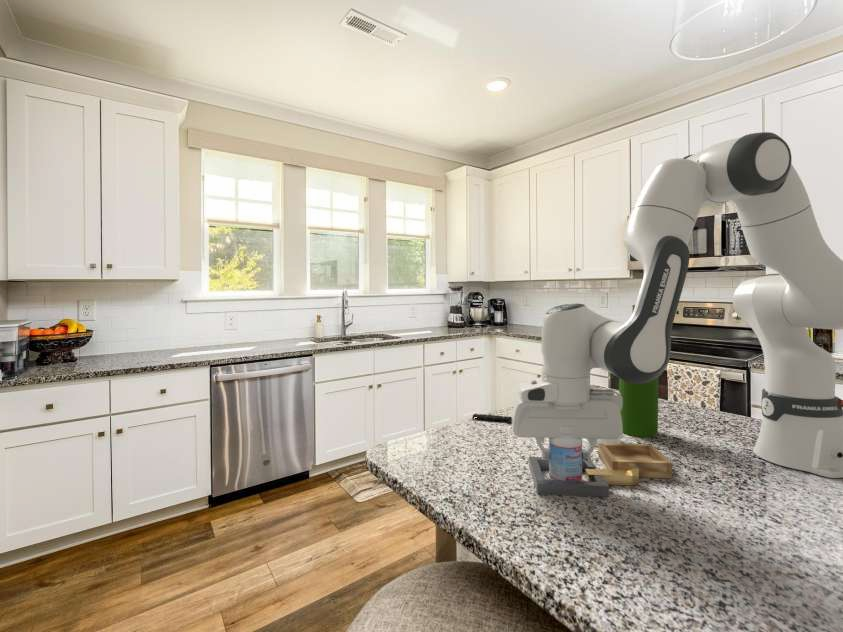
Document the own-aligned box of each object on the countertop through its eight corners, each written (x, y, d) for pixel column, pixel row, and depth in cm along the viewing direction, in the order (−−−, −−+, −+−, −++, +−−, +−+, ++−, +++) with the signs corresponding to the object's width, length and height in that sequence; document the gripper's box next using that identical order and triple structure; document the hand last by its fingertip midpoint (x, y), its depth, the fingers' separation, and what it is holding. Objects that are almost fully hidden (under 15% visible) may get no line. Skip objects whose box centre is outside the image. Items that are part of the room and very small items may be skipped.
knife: (565, 419, 117) (564, 425, 112) (565, 425, 117) (564, 431, 112) (475, 411, 126) (471, 416, 121) (475, 417, 126) (471, 422, 121)
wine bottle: (652, 427, 112) (653, 304, 110) (662, 438, 104) (664, 305, 102) (615, 425, 115) (616, 304, 113) (622, 436, 106) (623, 305, 104)
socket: (590, 467, 88) (590, 458, 88) (608, 496, 76) (608, 486, 75) (528, 466, 89) (528, 456, 89) (537, 494, 77) (537, 483, 77)
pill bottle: (572, 490, 78) (572, 430, 78) (542, 480, 83) (542, 423, 82) (588, 480, 82) (588, 423, 82) (559, 470, 87) (559, 416, 86)
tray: (651, 457, 92) (651, 444, 92) (672, 478, 82) (672, 463, 82) (598, 456, 94) (598, 443, 93) (612, 476, 84) (612, 461, 84)
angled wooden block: (633, 479, 82) (633, 463, 82) (638, 485, 80) (638, 468, 79) (585, 477, 83) (585, 461, 83) (588, 483, 81) (588, 467, 81)
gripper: (616, 385, 83) (616, 454, 84) (510, 384, 86) (511, 451, 87) (628, 393, 77) (627, 467, 78) (513, 392, 80) (513, 464, 80)
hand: (565, 459), depth 82 cm, fingers closed on pill bottle, 6 cm apart
